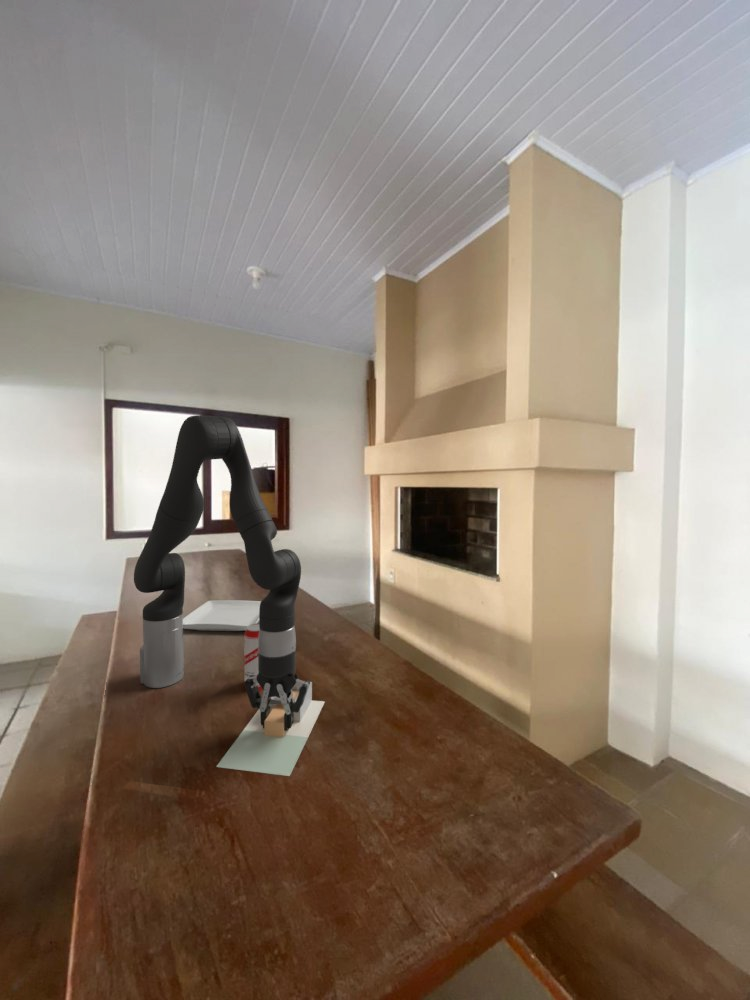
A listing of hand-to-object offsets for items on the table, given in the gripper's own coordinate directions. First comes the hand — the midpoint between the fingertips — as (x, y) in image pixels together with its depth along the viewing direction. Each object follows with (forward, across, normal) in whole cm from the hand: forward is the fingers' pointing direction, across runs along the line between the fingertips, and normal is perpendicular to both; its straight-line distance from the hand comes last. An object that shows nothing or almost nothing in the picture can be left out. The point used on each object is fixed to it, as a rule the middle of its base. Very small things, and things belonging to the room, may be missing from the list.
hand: (277, 727), depth 82 cm
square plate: (+2, -43, +60) cm, 73 cm away
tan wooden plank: (+1, 0, +4) cm, 4 cm away
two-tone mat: (+2, 0, 0) cm, 2 cm away
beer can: (+2, -12, +16) cm, 20 cm away
